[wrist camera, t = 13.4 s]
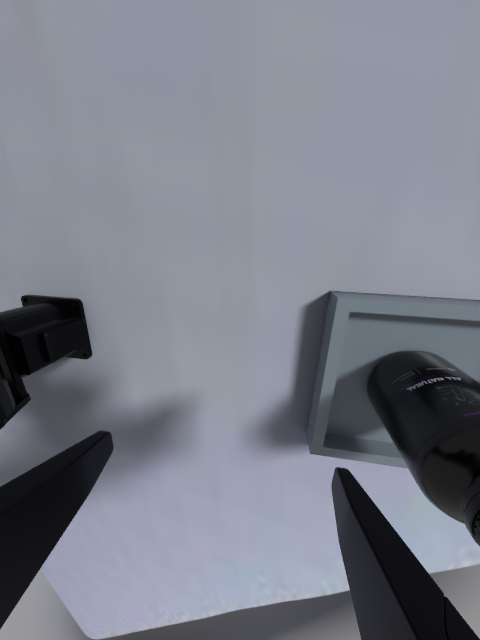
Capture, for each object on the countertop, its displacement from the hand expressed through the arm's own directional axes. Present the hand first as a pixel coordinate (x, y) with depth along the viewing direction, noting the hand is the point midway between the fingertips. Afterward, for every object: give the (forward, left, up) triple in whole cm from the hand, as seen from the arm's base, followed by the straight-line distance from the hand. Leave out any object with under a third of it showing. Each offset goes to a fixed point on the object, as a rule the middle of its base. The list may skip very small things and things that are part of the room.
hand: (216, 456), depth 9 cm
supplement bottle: (+14, -3, -12) cm, 19 cm away
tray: (+14, -3, -13) cm, 19 cm away
